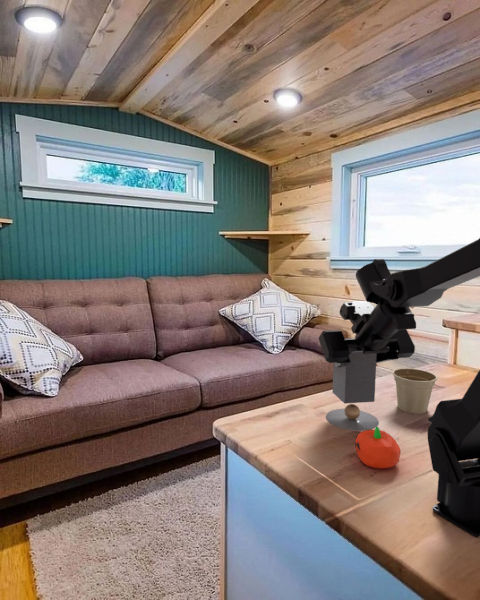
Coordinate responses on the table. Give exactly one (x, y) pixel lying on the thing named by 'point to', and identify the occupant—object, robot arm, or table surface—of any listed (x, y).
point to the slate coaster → (359, 424)
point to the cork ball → (352, 411)
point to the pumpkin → (377, 449)
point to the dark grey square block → (356, 378)
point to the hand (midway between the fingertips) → (351, 364)
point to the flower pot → (413, 389)
